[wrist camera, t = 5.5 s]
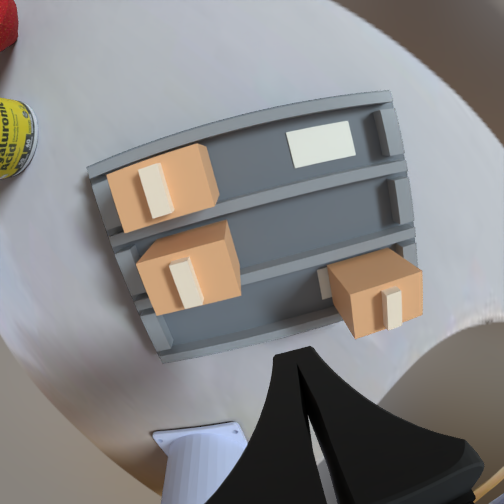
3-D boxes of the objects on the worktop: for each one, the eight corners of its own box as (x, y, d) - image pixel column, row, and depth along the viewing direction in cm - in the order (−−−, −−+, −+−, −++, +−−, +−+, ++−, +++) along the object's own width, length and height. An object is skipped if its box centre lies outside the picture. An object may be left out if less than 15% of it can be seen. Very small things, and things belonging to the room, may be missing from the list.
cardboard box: (391, 285, 18) (427, 320, 14) (333, 303, 18) (359, 345, 14) (387, 247, 17) (428, 275, 13) (326, 265, 18) (354, 300, 13)
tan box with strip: (239, 264, 17) (241, 301, 13) (171, 281, 17) (153, 322, 13) (226, 219, 16) (223, 243, 12) (156, 239, 17) (131, 268, 12)
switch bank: (409, 282, 20) (424, 295, 18) (163, 348, 20) (157, 367, 18) (380, 93, 16) (397, 87, 14) (94, 166, 17) (78, 168, 14)
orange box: (219, 193, 16) (213, 208, 12) (148, 215, 16) (119, 237, 12) (206, 146, 15) (195, 142, 11) (135, 169, 15) (100, 175, 11)
